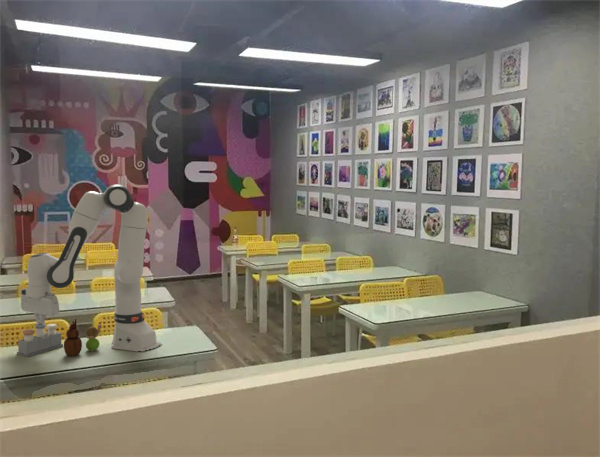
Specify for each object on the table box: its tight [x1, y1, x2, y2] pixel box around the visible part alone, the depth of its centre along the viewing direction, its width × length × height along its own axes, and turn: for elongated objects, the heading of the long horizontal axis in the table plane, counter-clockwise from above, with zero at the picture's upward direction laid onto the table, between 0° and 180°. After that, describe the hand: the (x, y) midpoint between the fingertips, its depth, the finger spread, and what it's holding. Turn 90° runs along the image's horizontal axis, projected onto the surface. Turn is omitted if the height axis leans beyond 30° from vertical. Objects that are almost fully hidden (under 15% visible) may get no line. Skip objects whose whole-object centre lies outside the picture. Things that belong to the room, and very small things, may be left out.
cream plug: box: [46, 323, 58, 335], centre depth 225 cm, size 4×4×8 cm
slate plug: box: [34, 323, 46, 339], centre depth 220 cm, size 4×4×8 cm
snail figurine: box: [85, 321, 102, 352], centre depth 222 cm, size 5×6×12 cm
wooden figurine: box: [63, 318, 83, 357], centre depth 214 cm, size 7×6×15 cm
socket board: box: [16, 331, 64, 358], centre depth 220 cm, size 7×17×6 cm, turn 153°
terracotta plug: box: [22, 329, 35, 342], centre depth 215 cm, size 4×4×8 cm
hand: (40, 323), depth 220 cm, fingers closed
